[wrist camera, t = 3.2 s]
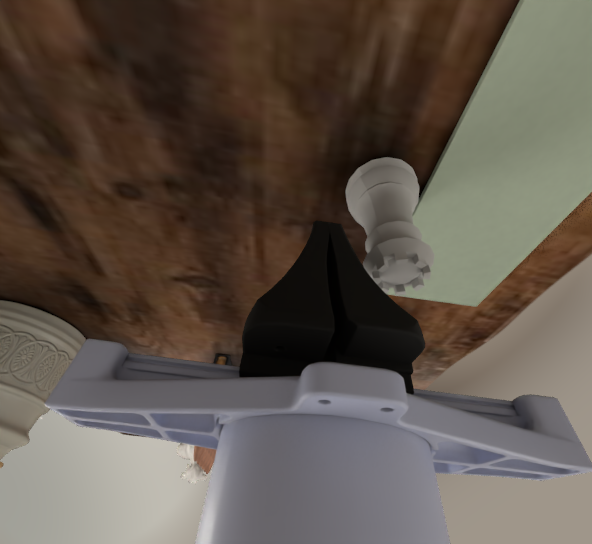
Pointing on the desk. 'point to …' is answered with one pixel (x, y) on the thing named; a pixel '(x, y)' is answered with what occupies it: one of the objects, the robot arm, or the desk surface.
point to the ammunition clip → (201, 453)
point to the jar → (30, 367)
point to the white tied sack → (193, 471)
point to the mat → (512, 154)
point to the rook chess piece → (390, 224)
